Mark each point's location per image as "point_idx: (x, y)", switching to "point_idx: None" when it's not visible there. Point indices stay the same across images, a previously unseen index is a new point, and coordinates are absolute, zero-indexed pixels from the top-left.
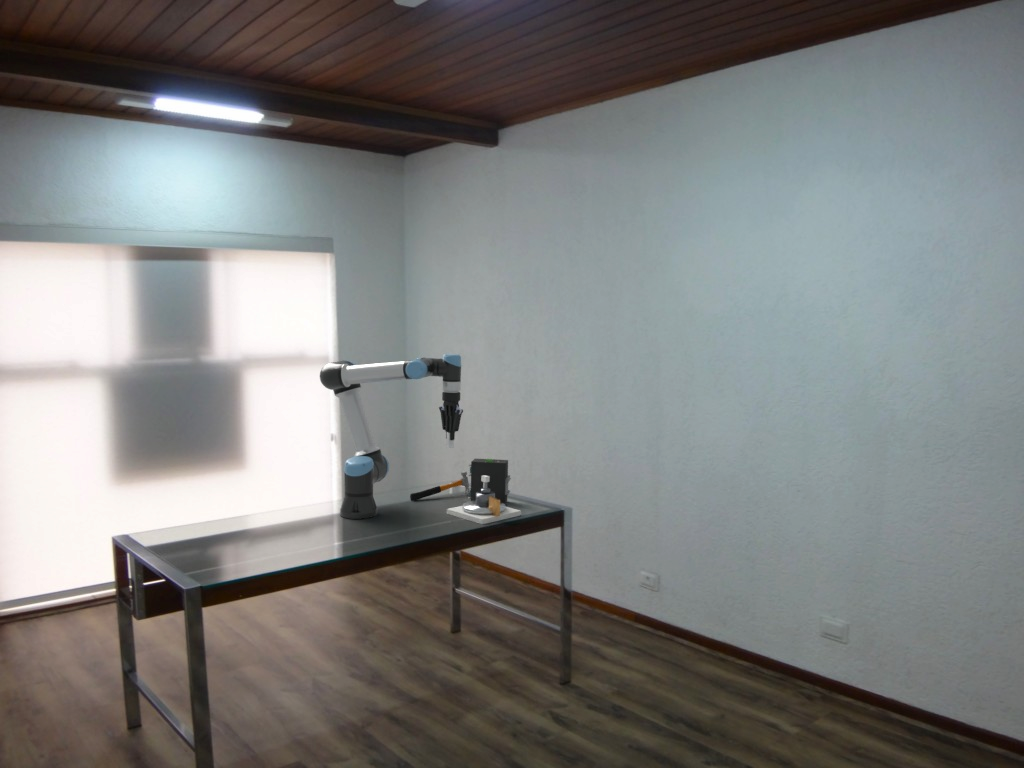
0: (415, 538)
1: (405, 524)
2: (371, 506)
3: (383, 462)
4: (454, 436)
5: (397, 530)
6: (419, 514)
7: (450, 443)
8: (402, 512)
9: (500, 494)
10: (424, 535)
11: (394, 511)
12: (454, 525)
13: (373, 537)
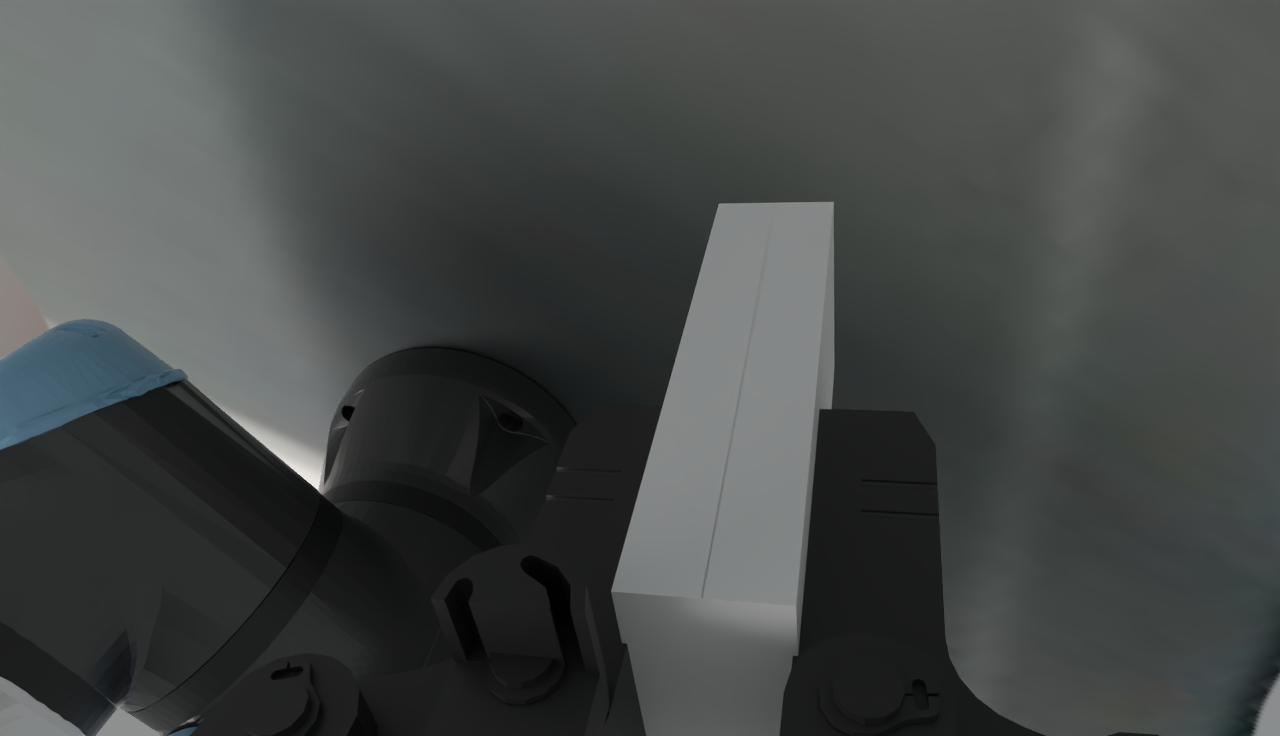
0: (1256, 534)
1: (897, 387)
2: (546, 485)
3: (100, 511)
4: (934, 520)
5: (988, 500)
6: (699, 133)
7: (827, 402)
8: (557, 206)
9: None
10: (1260, 461)
11: (495, 235)
12: (1277, 113)
13: (1004, 648)
